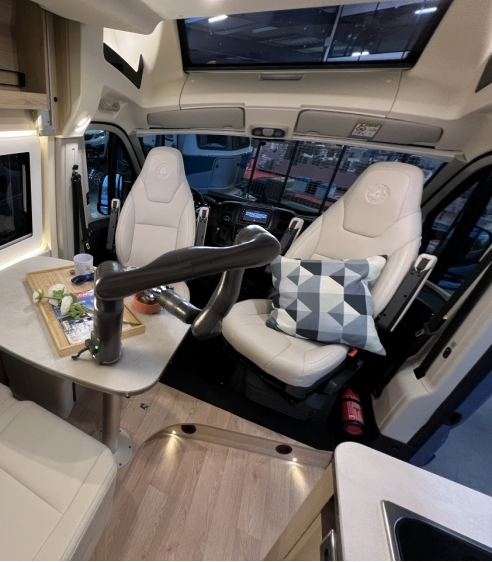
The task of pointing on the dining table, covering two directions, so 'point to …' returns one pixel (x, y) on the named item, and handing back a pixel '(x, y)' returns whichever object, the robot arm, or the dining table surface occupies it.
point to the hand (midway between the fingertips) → (145, 283)
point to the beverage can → (132, 268)
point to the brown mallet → (148, 301)
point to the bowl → (145, 305)
